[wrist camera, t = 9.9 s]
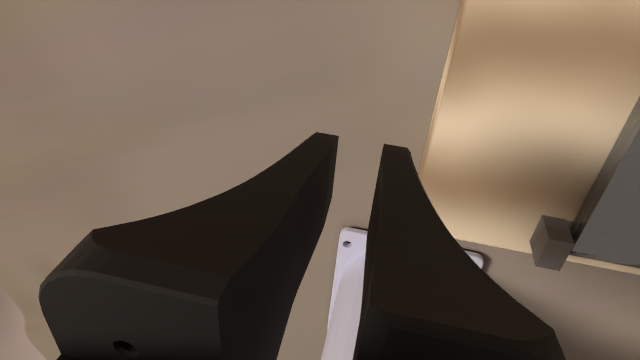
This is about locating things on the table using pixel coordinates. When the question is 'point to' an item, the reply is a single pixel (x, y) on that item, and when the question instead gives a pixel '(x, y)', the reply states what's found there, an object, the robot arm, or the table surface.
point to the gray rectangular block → (613, 204)
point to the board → (530, 119)
